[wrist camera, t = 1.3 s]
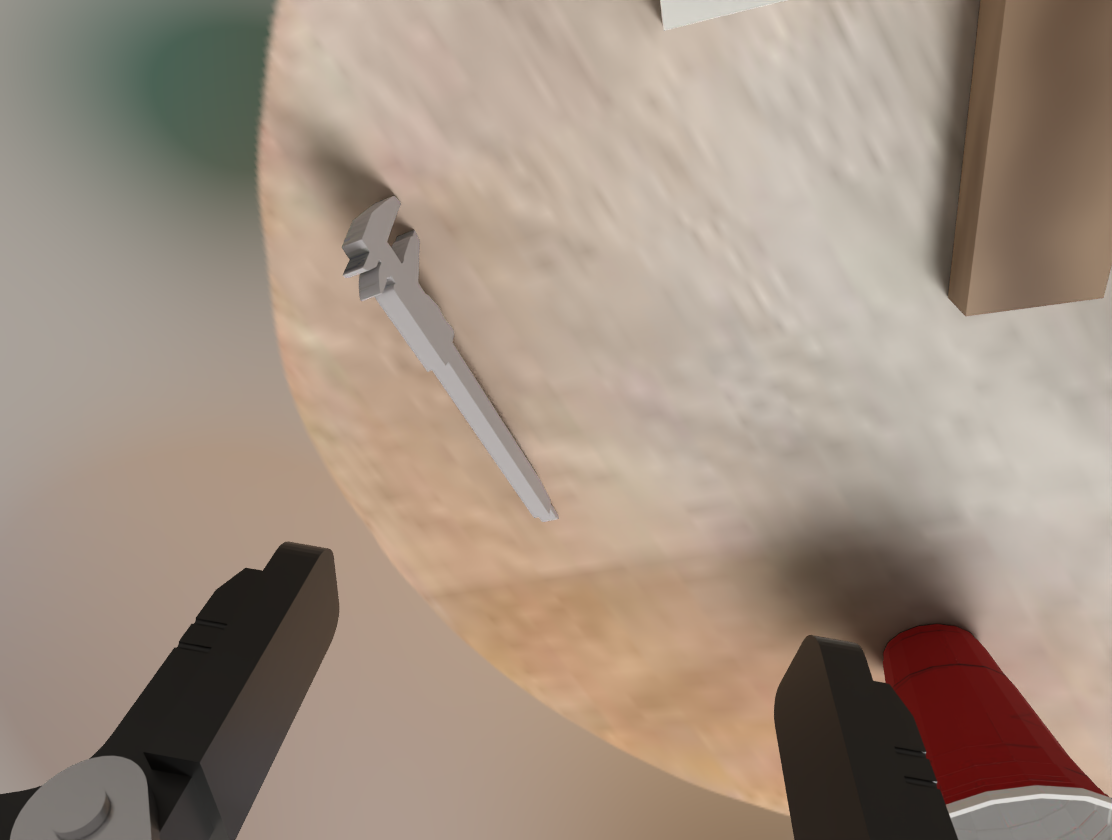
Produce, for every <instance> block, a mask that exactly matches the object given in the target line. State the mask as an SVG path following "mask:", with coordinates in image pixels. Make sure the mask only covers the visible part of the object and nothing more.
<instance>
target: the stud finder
mask: <svg viewBox="0 0 1112 840" xmlns="http://www.w3.org/2000/svg"><path fill="white" fill-rule="evenodd" d="M782 1H786V0H660V7H661V16H662V25H663V29H664V31H665V30H669V29H673V28H677V27H681V26H685V25H689V24H693V23H697V22H701V21H706V20H710V19H714V18H718V17H722V16H726V15H730V14H734V13H738V12H742V11H746V10H750V9H754V8H758V7H762V6H766V5H770V4H774V3H778V2H782Z"/></svg>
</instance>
